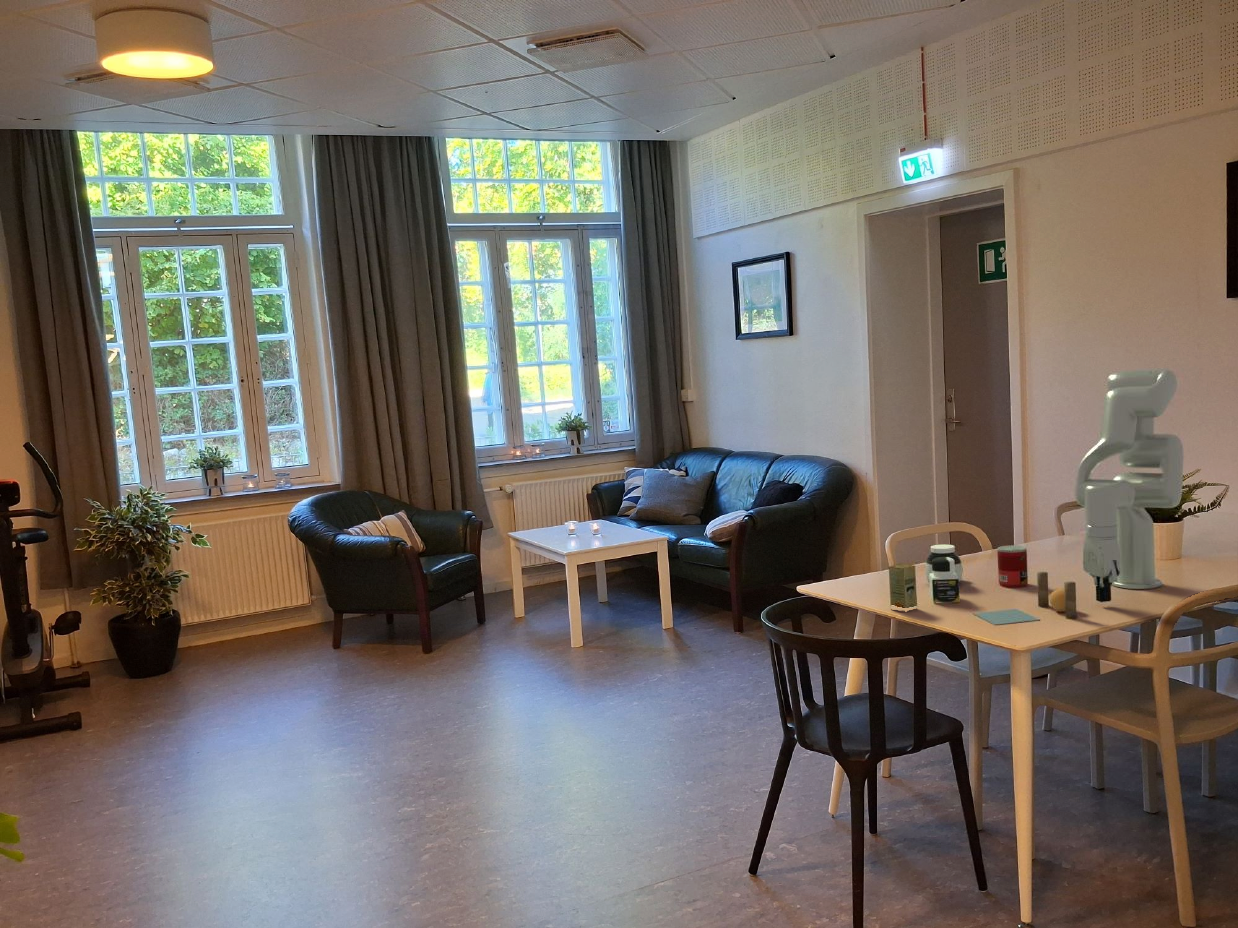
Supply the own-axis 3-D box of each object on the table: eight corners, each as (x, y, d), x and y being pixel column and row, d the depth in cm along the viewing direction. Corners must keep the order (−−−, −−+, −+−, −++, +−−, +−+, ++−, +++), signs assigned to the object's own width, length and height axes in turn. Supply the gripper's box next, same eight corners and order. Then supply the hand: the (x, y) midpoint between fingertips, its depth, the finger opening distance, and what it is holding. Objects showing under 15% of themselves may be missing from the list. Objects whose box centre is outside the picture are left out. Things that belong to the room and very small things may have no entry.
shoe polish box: (890, 609, 278) (888, 566, 277) (902, 606, 281) (900, 563, 280) (905, 612, 275) (903, 568, 273) (917, 608, 278) (915, 565, 276)
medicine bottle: (933, 603, 282) (931, 561, 281) (930, 597, 289) (928, 556, 288) (960, 602, 280) (958, 560, 279) (956, 596, 287) (954, 555, 286)
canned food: (1027, 588, 291) (1025, 550, 290) (997, 587, 294) (996, 550, 293) (1028, 582, 298) (1027, 545, 297) (999, 581, 301) (998, 545, 300)
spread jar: (930, 589, 299) (929, 550, 298) (920, 580, 310) (918, 543, 309) (972, 586, 298) (970, 547, 297) (960, 578, 310) (958, 540, 309)
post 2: (1063, 616, 259) (1062, 582, 258) (1073, 615, 259) (1071, 581, 258) (1069, 619, 256) (1067, 584, 255) (1078, 618, 256) (1077, 583, 256)
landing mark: (973, 614, 268) (972, 613, 268) (1016, 609, 269) (1016, 608, 269) (995, 625, 256) (995, 624, 256) (1040, 620, 257) (1040, 619, 257)
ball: (1044, 587, 266) (1066, 585, 267) (1045, 609, 266) (1066, 608, 267) (1057, 591, 260) (1079, 590, 261) (1058, 614, 260) (1079, 613, 261)
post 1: (1036, 605, 272) (1035, 572, 271) (1045, 604, 272) (1044, 571, 271) (1041, 607, 269) (1040, 574, 268) (1050, 606, 269) (1049, 573, 268)
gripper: (1071, 528, 271) (1074, 596, 272) (1105, 537, 256) (1107, 608, 257) (1098, 526, 271) (1100, 593, 273) (1132, 534, 257) (1134, 605, 258)
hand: (1103, 600), depth 265 cm, fingers closed
